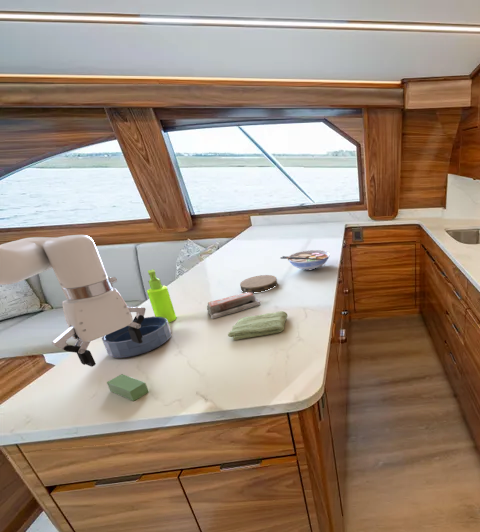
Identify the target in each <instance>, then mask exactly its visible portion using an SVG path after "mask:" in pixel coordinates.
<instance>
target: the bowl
mask: <svg viewBox="0 0 480 532" xmlns="http://www.w3.org/2000/svg"><path fill="white" fill-rule="evenodd" d="M169 323H170V322H169ZM169 323H168V320H167V319H166V318H164V317H155V316H147V317H144V319H143V321H142V323H141V327H140V328H139V329H140V331H141V334H142V338H141V339H142V343H136V342H133V341H132V339H131V336H130V334H129V331H128V328H129V326H126V327H124V328H122V329H119V330H117V331H115V332H112V333H110V334H108V335H105V336H103V337H101V341H102V343H103V346H104V348H105V351H106V353H107V355H108V356H109V357H112V358H131V357H137V356H139V355H143V354H147V353H149V352H151V351H153V350H155V349H157V348H159V347H161V346H162V345H164V344H165V343H166V342H168V341H169V340H170V338H171V337H172V333H173V332H172V330H171V327H170V324H169Z"/></svg>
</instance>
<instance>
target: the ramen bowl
mask: <svg viewBox="0 0 480 532" xmlns="http://www.w3.org/2000/svg"><path fill="white" fill-rule="evenodd" d="M330 255H331V254H330V251H327V250H321V249H315V250H313V249H312V250H310V249H309V250H302V251H298V252H295V253H292V254H290V255H288V256H284V255H282V257H280V259H281V260H287V261H288V262H289V263H290V264H291V265H292V266H293V267H295V268H297V269H300V270H304V269H306V270H305V271H310V270H309V269H314V270H316V269H318V268H320V267H322V266H324V265H325V264H326V262H327V261H328V260H329V258H330ZM315 268H316V269H315Z"/></svg>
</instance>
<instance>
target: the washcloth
mask: <svg viewBox="0 0 480 532" xmlns="http://www.w3.org/2000/svg"><path fill="white" fill-rule="evenodd" d="M287 317H288V313H287V312H286V311H284V310H281V311H280V310H279V311H276V312H269V313H263V314H258V315H250V316H249V315H248V316H244V317H241V318H240V319H238V320H237V322H236V323H234V325H233V326H232V328H231V330H230V331H229V332H228V333H227V337H229V338H232V340H233V341H238V340H242V339H249V338H256V337H261V336H267V335H268V336H269V335H273V334H277V333H278V334H279V333H281V332H282V331H284V329H285V324H286V323H285V322H286V321H287Z"/></svg>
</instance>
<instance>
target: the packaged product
mask: <svg viewBox="0 0 480 532" xmlns="http://www.w3.org/2000/svg"><path fill="white" fill-rule="evenodd" d="M254 294H255V293H251V292H247V293H244V292H242V293H239V294H235V295H230V296H227V297H224V298H219V299H215V300H212V301H209V302H207V306H206V310H207V312H208V315H210V317H211V319H213V320H214V319H217V318H221V317H223V316H227V315H230V314H235V313H239V312H242V311H243V310H247V309H251V308H254V307H258V306H261V301H260V300H259V299H258V298H257V297H256V296H255V295H254Z"/></svg>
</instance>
